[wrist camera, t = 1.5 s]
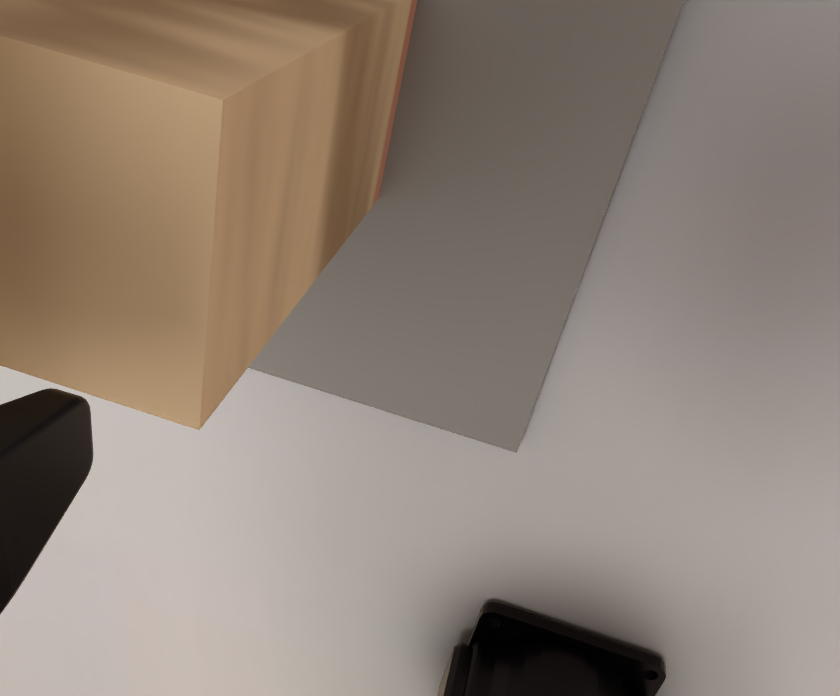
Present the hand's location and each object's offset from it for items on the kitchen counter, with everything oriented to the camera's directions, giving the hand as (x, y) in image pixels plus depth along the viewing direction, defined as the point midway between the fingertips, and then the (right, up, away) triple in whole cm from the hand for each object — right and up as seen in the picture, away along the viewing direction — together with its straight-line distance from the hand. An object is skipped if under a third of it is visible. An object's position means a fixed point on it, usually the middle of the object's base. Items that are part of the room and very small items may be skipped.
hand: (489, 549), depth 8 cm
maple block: (-4, +9, +11) cm, 14 cm away
